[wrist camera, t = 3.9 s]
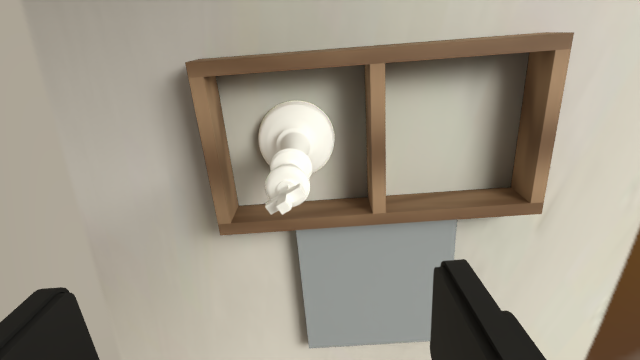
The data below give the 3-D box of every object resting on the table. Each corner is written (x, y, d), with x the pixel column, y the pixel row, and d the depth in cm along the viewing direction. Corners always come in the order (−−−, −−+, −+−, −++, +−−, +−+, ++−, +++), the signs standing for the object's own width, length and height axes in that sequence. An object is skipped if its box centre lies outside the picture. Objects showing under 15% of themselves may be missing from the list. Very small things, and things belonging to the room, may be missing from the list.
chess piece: (243, 126, 23) (194, 189, 14) (308, 85, 22) (302, 123, 13) (286, 186, 25) (267, 278, 16) (348, 150, 24) (368, 225, 15)
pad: (296, 221, 26) (295, 228, 25) (452, 210, 26) (457, 217, 25) (309, 338, 30) (309, 348, 29) (443, 330, 30) (447, 340, 29)
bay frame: (199, 59, 22) (185, 62, 19) (545, 32, 21) (573, 32, 19) (229, 216, 26) (220, 235, 23) (521, 197, 25) (541, 213, 23)
